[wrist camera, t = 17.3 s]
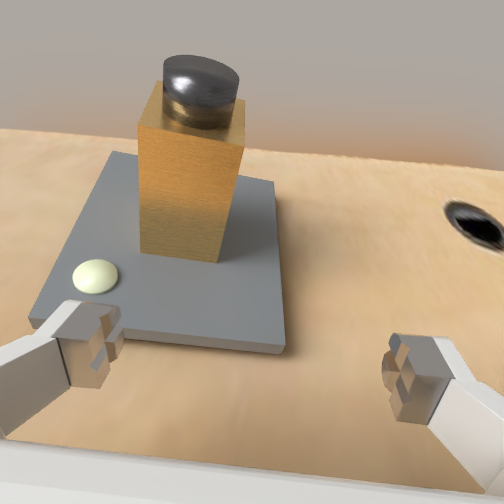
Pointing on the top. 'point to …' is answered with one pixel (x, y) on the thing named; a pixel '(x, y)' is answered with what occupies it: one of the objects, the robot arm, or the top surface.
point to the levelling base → (173, 270)
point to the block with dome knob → (189, 158)
